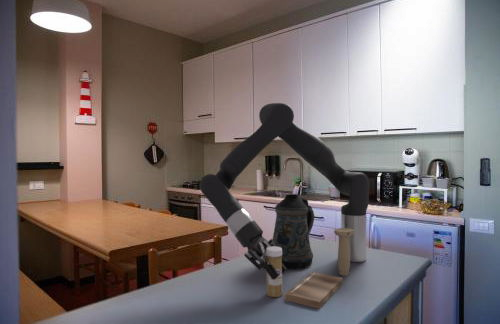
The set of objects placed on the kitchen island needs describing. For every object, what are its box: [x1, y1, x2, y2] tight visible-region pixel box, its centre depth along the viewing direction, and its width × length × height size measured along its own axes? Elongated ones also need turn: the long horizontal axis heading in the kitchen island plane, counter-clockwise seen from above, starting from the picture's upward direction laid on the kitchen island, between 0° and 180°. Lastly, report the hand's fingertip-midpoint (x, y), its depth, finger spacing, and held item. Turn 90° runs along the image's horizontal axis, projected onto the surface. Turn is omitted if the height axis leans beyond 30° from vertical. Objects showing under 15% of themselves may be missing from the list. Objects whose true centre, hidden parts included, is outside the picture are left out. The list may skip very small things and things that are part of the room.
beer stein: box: [271, 194, 315, 270], centre depth 127 cm, size 16×19×25 cm
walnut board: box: [284, 271, 344, 310], centre depth 99 cm, size 20×10×2 cm, turn 148°
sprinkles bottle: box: [266, 246, 283, 298], centre depth 96 cm, size 5×5×14 cm
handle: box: [333, 227, 354, 277], centre depth 112 cm, size 5×6×15 cm
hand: (280, 274), depth 95 cm, fingers closed on sprinkles bottle, 4 cm apart
